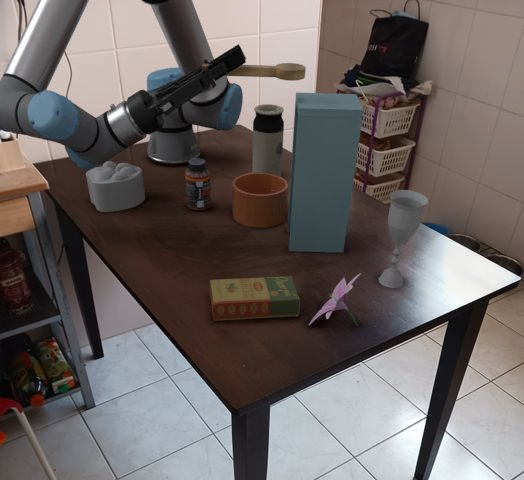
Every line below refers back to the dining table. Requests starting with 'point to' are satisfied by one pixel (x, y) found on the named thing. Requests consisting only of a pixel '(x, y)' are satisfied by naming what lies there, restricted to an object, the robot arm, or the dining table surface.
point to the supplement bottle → (198, 185)
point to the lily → (337, 299)
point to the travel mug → (268, 139)
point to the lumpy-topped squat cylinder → (115, 186)
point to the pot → (259, 199)
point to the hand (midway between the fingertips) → (242, 53)
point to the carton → (254, 298)
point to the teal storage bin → (322, 170)
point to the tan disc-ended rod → (269, 71)
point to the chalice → (402, 229)
